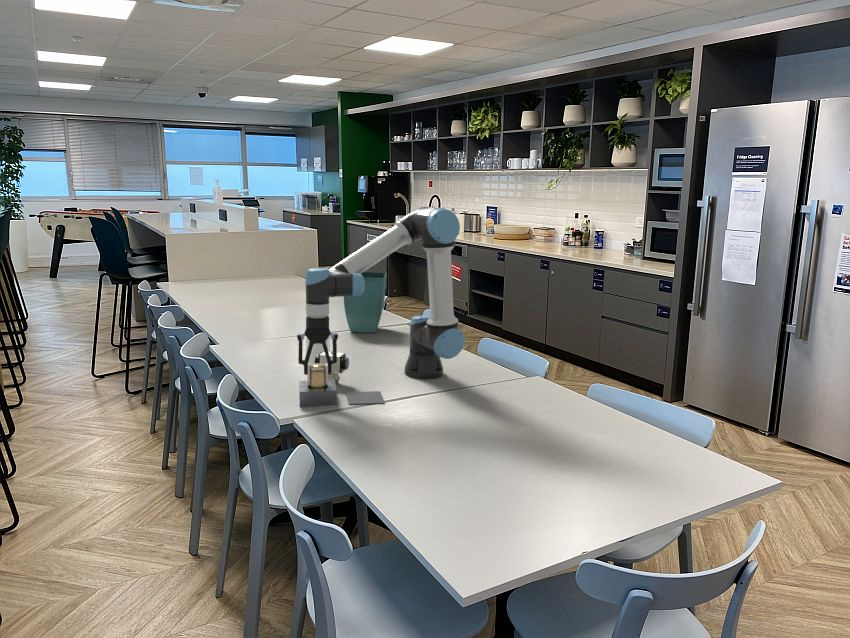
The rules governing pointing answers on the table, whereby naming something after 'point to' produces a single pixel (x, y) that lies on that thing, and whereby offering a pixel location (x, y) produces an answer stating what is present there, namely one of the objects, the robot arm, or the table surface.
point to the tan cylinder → (317, 376)
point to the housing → (317, 395)
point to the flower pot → (366, 304)
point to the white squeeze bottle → (316, 349)
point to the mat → (365, 398)
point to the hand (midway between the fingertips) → (317, 383)
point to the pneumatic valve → (336, 367)
